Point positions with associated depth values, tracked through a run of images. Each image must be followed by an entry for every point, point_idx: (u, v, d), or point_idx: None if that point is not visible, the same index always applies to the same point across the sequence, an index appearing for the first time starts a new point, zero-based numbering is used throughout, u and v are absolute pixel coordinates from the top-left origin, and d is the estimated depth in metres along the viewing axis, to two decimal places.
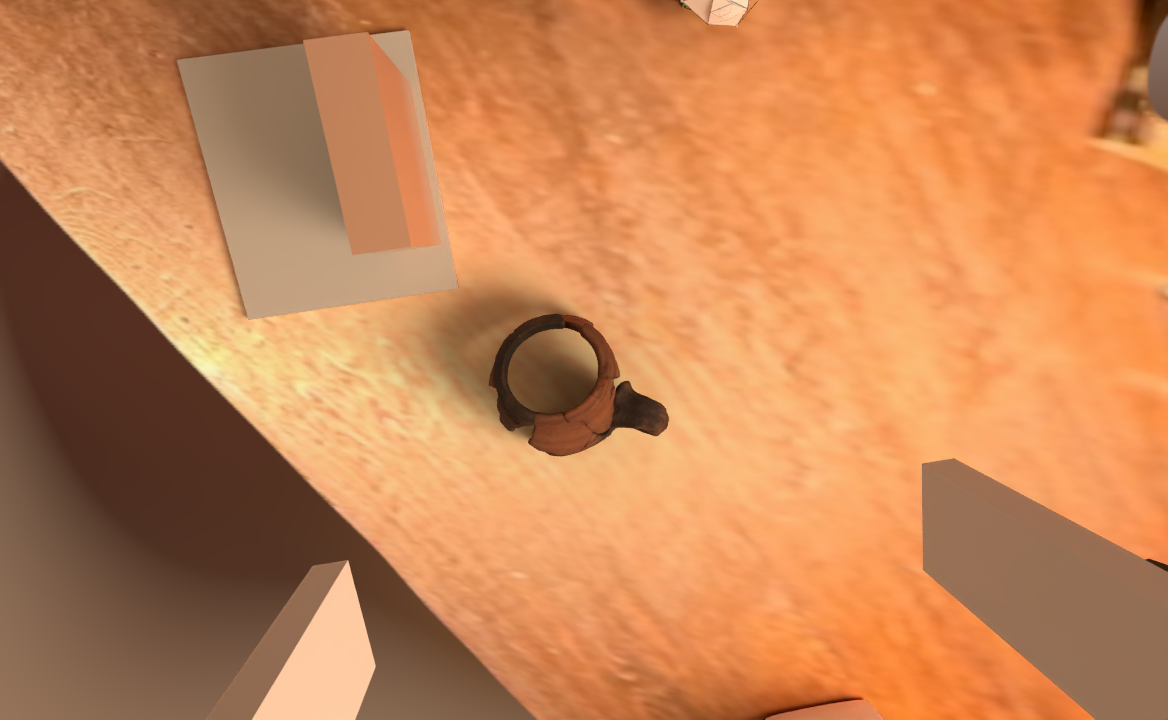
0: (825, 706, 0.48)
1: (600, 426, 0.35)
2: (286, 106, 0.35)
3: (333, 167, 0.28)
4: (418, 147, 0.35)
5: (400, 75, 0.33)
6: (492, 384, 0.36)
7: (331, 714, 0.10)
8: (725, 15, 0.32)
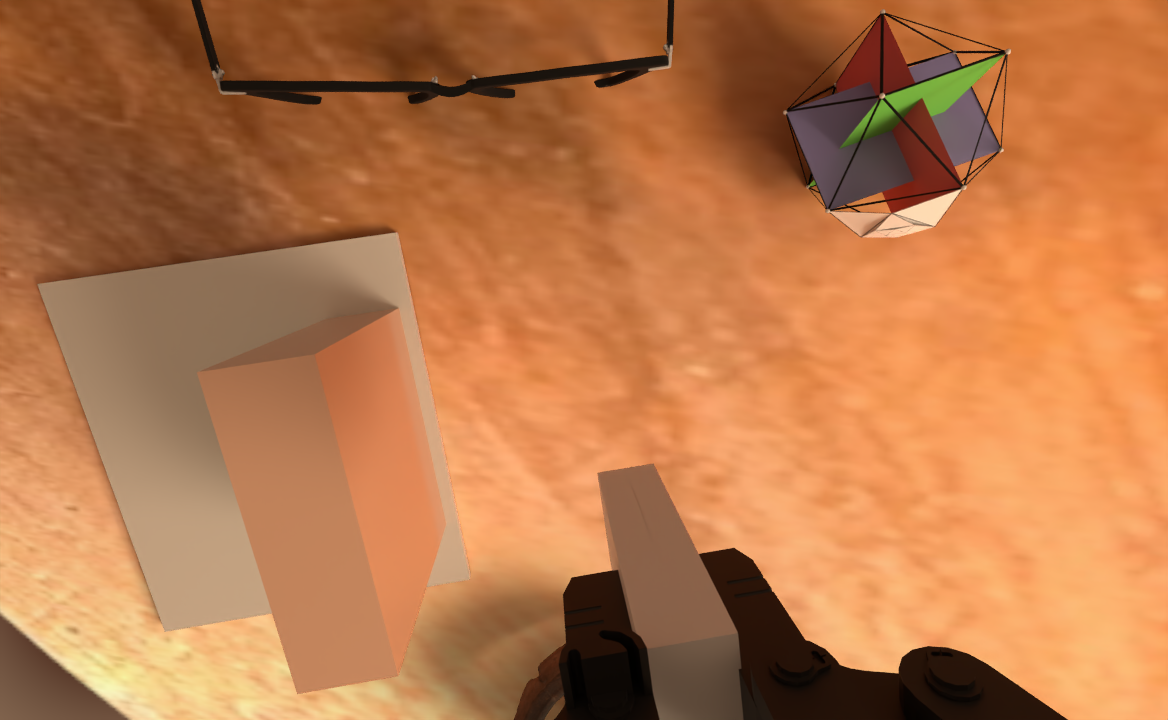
0: None
1: None
2: (210, 344, 0.23)
3: (260, 564, 0.16)
4: (411, 412, 0.23)
5: (381, 325, 0.21)
6: None
7: None
8: (896, 234, 0.20)
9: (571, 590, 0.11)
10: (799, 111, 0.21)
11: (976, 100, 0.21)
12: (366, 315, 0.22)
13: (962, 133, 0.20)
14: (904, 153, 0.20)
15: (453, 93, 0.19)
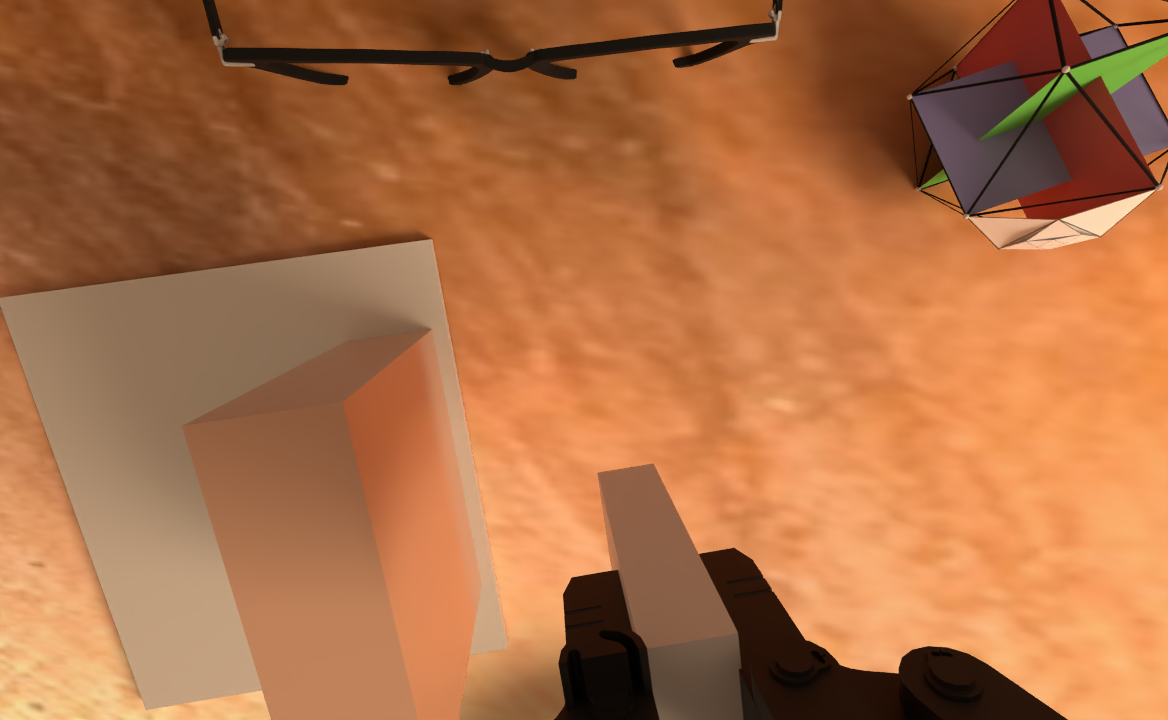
0: None
1: None
2: (206, 372, 0.19)
3: (263, 676, 0.12)
4: (446, 455, 0.19)
5: (416, 352, 0.17)
6: None
7: None
8: (1050, 245, 0.17)
9: (572, 590, 0.11)
10: (927, 95, 0.17)
11: (1144, 83, 0.17)
12: (394, 338, 0.18)
13: (1129, 123, 0.17)
14: (1058, 147, 0.17)
15: (511, 67, 0.16)
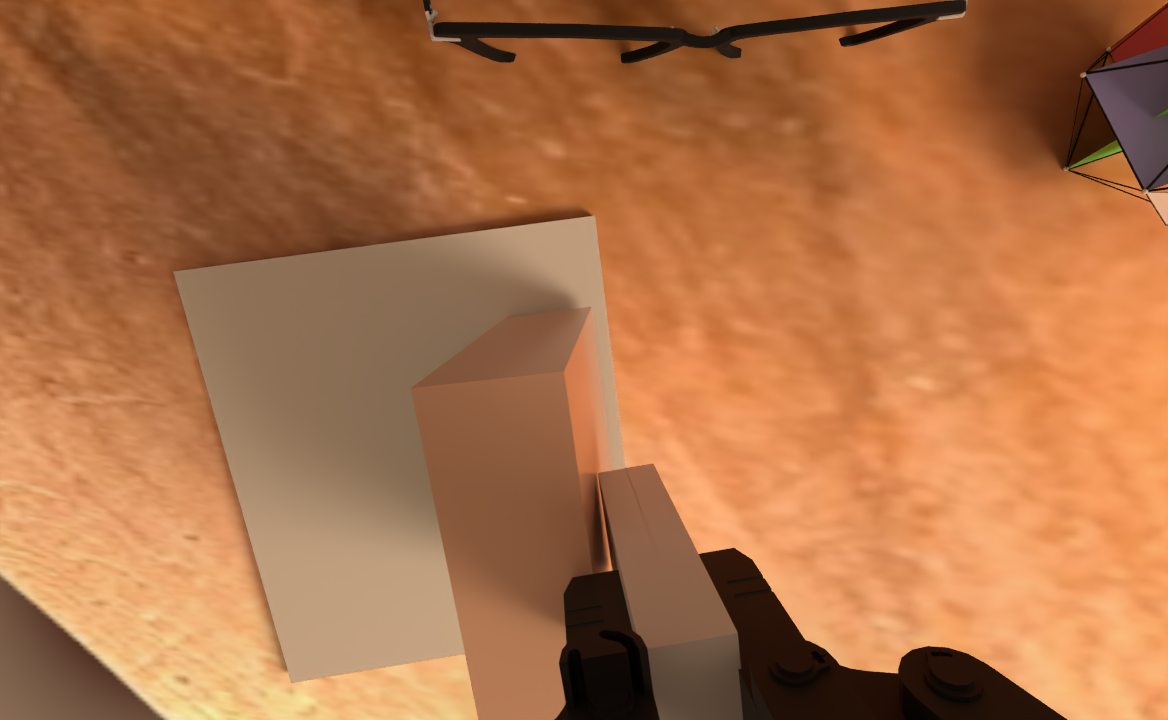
0: None
1: None
2: (370, 346, 0.19)
3: (464, 636, 0.12)
4: (604, 434, 0.19)
5: (587, 328, 0.17)
6: None
7: None
8: None
9: (572, 590, 0.11)
10: (1100, 73, 0.17)
11: None
12: (558, 315, 0.18)
13: None
14: None
15: (708, 43, 0.16)
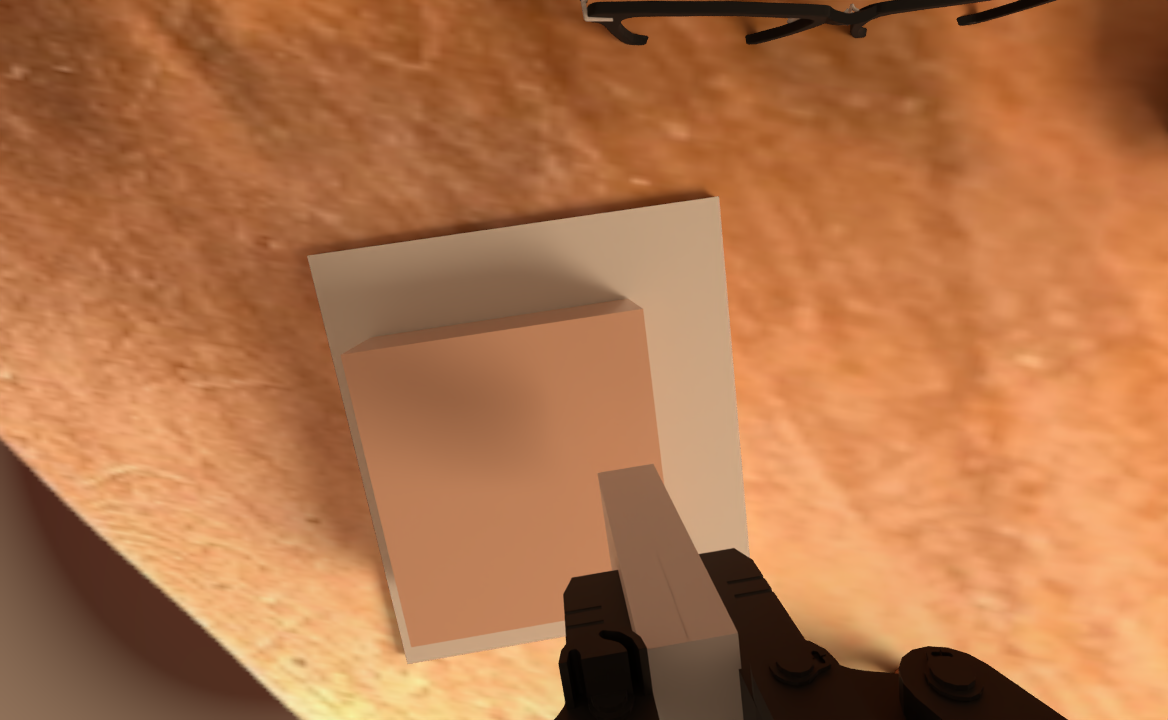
0: None
1: None
2: None
3: None
4: (609, 443, 0.18)
5: (552, 331, 0.17)
6: None
7: None
8: None
9: (572, 590, 0.11)
10: None
11: None
12: (603, 310, 0.18)
13: None
14: None
15: (854, 20, 0.16)
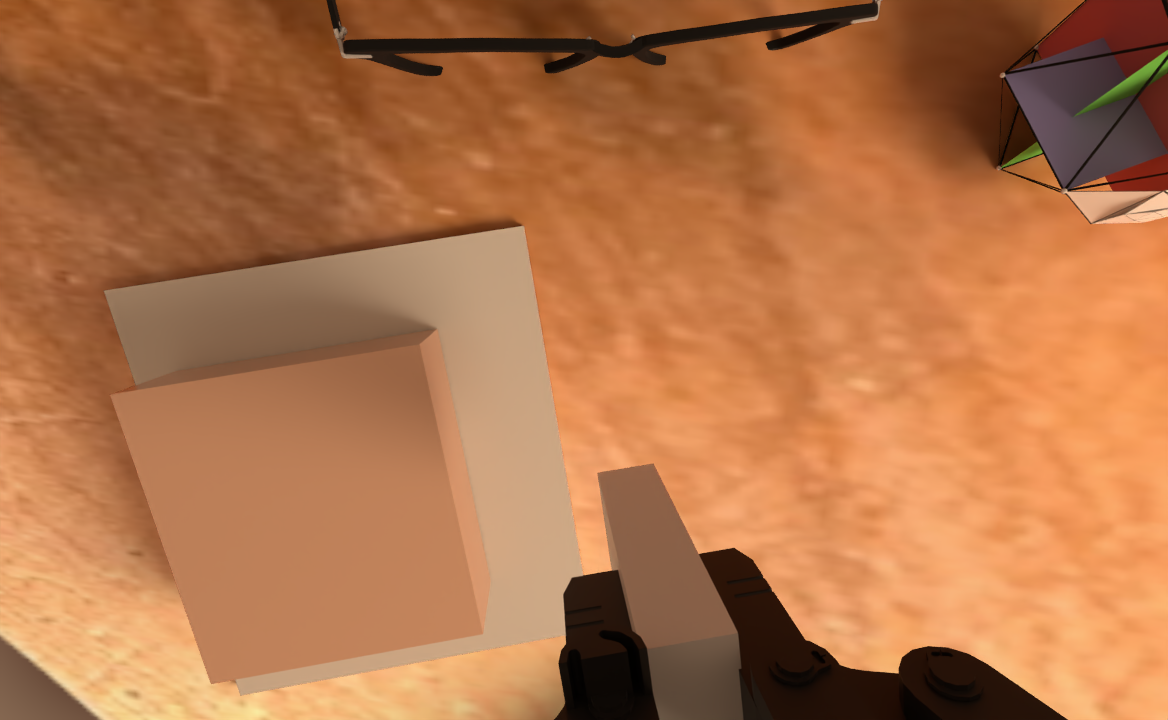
0: None
1: None
2: None
3: None
4: (396, 479, 0.18)
5: (327, 368, 0.17)
6: None
7: None
8: (1147, 218, 0.17)
9: (572, 590, 0.11)
10: (1020, 73, 0.17)
11: None
12: (391, 344, 0.18)
13: None
14: (1153, 121, 0.17)
15: (620, 53, 0.16)
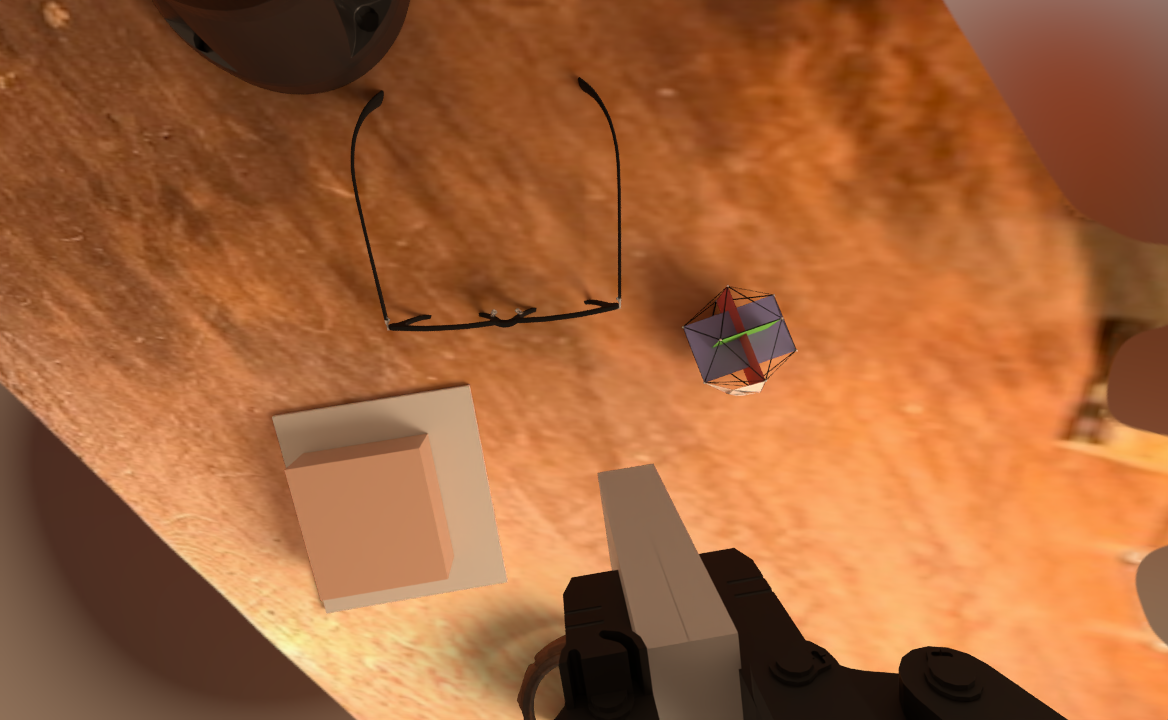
0: None
1: None
2: None
3: None
4: (408, 506, 0.39)
5: (378, 458, 0.38)
6: (521, 707, 0.43)
7: None
8: (741, 394, 0.38)
9: (572, 590, 0.11)
10: (690, 327, 0.39)
11: (784, 322, 0.38)
12: (406, 445, 0.39)
13: (776, 340, 0.38)
14: (745, 351, 0.38)
15: (507, 325, 0.37)
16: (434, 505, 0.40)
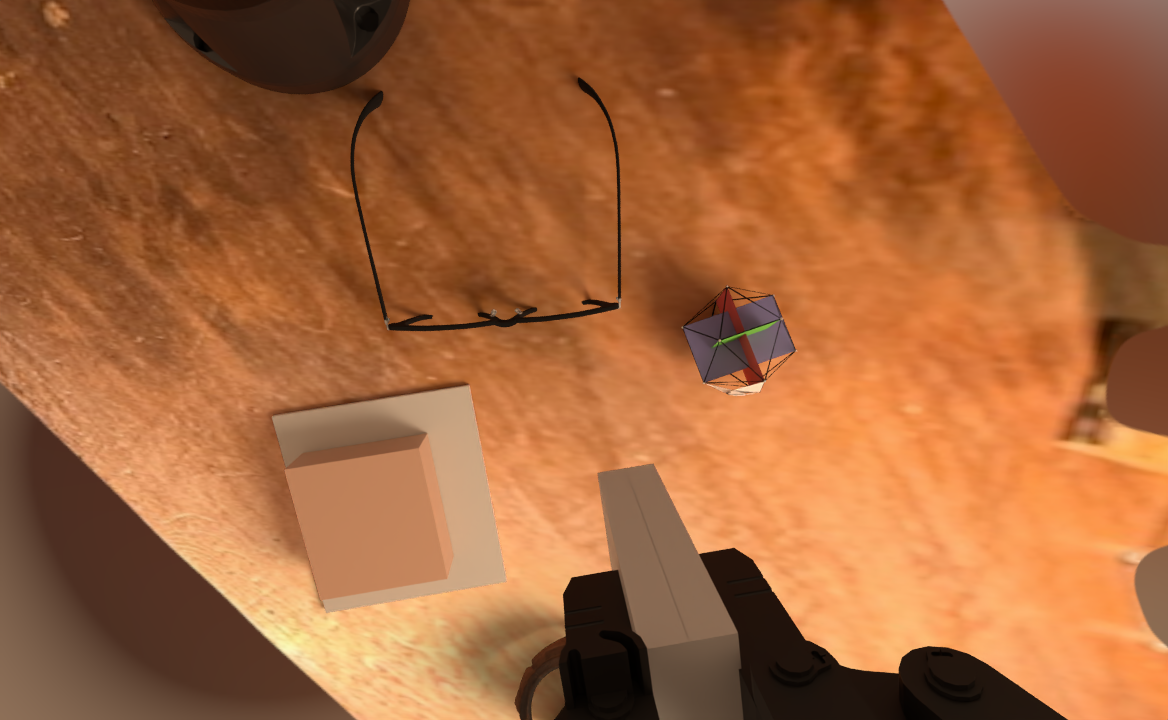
0: None
1: None
2: None
3: None
4: (408, 506, 0.39)
5: (378, 458, 0.38)
6: (518, 711, 0.43)
7: None
8: (741, 394, 0.38)
9: (571, 590, 0.11)
10: (689, 327, 0.39)
11: (784, 322, 0.38)
12: (405, 445, 0.39)
13: (775, 340, 0.38)
14: (745, 351, 0.38)
15: (506, 325, 0.37)
16: (434, 505, 0.40)
